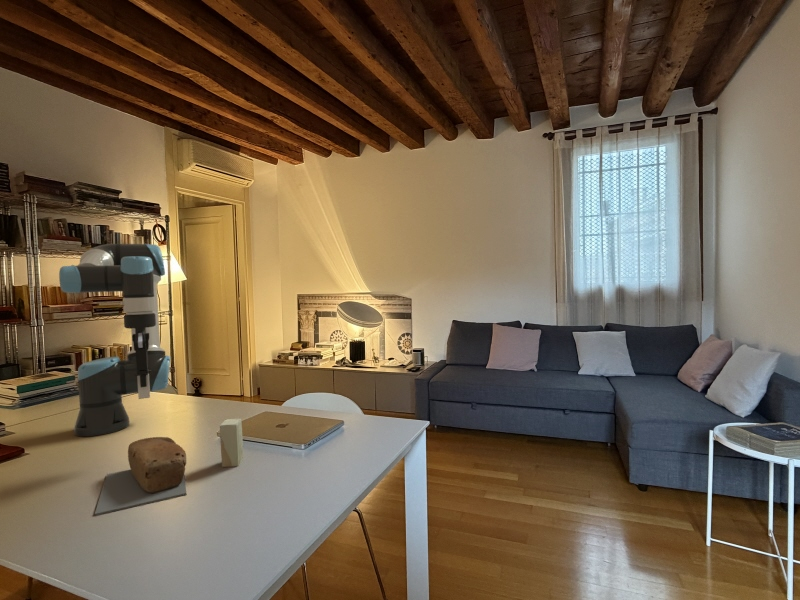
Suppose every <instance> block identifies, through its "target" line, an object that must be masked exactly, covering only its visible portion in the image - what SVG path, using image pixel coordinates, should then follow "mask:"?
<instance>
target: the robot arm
mask: <svg viewBox="0 0 800 600" xmlns="http://www.w3.org/2000/svg"><path fill="white" fill-rule="evenodd" d="M165 269H166V268H165V266H164V259H163V254H162V250H161V248H160V247H159V245H156V244H148V243H107V244H101V245H98V246H95V247H92V248H91V247H90V249H88V250H86V251H85V252H83V254H82V255H81V256H80V259H79V263H78V264H77V265H74V264H72V265H64V266H63V265H62V266H61V267H60V269H59V273H58V278H59V286H60V290H61V291H62V292H63V293H66V294H67V293H68V294H69V293H70V294H72V293H74V294H80V293H81V294H83V293H101V292H103V293H105V292H106V293H108V292H109V293H110V292H111V293H112V292H116V293H117V292H122V300H123V301H120V305H121V306H123V307H122V309H123V312H124V315H123V327H124V328H125V329H130V330H131V331H130V332H131V349H130V350H131V351H129V353H127V355H126V356H127V359H123V360H122V359H121V358H120V357H119V356H118V355H117V356H108V357H103V358H97V359H94V360H90V361H87V362H84V363H82V364H80V365H79V366H78V368H77V379H76V380H77V382H78V383H77V385H78V396H79V397H78V398H79V400H78V401H79V411H78V415H77V418H76V421H75V423H74V435H75V436H79V437H94V436H102V435H106V434H110V433H114V432H118V431H121V430H124V429H125V428H127V427H128V426H129V425H130V418H129V415H128V413H127V410H126V408H125V406H124V405H123V398H122V396H124V395H125V396H126V395H132V394H138V400H142V399H150V398H151V392H155V391H161V390H164V389H166V388H167V387H168V385H169V384H168V383H169V374H170V364H171V363H170V362H171V356H170V355H166V351H165V349H163V348H162V347H161V341H160V340H161V339H160V338H161V336H160V324H159V323H160V321H159V304H158V303H159V302H158V288H157V287H158V286H157V285H158V283H159V282H160V281H161V280H162V277H163V276H165V274H166V270H165Z"/></svg>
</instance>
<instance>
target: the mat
mask: <svg viewBox="0 0 800 600" xmlns="http://www.w3.org/2000/svg"><path fill="white" fill-rule="evenodd" d="M187 494H188V493H187V486H186V477H185V474H184V476H183V480H182V482H181V483H180V484H179V485H177V486H175V487H172V488H169V489H165V490H162V491H159V492H154V493H150V492H147V491H145V490H144V489H143V488H142V487H141V486H140V485H139V483H138V482H137V480H136V479H135V477H134V476H133V474H132V471H131V468H130V469H125V470H121V471H115V472H112V473H107V474H106V475H105V479H104V482H103V486H102V489H101V492H100V495H99V499H98V502H97V506H96V509H95V511H94V517H96V516H99V515H104V514H105V515H106V514H109V513H112V512H117V511H122V510H126V509H131V508H134V507H138V506H144V505H148V504H152V503H157V502H160V501H165V500H166V501H167V500H171V499H173V498H178V497H183V496H187Z"/></svg>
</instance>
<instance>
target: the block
mask: <svg viewBox="0 0 800 600" xmlns="http://www.w3.org/2000/svg"><path fill="white" fill-rule="evenodd" d="M127 449H128V450H127V457H128V458H127V460H128V465H129V468H130V469H131V471H132V474H133V476H134V477H135V479H136V480H137V482H138V483H139V485H140V486H141V487H142V488H143V489H144V490H145V491H147V492H150V493H154V492H159V491H162V490H165V489H169V488H172V487H175V486H177V485H179V484H180V483H181V482H182V480H183V476H184V475H185V474H186V473H185V472H186V466H187V453H186V451H185V449H183V447H182V446H180V445H179V444H177V443H176V441H175V440H173V439H172V438H171V437H169V436H154V437H146V438H140V439H138V440H134V441H132V442H131V443H129V444H128V447H127Z"/></svg>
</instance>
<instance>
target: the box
mask: <svg viewBox="0 0 800 600" xmlns="http://www.w3.org/2000/svg"><path fill="white" fill-rule="evenodd" d="M242 425H243V424H242V418H230V419H229V418H228V419H225V420H223V422H221V423H220V425H219V433H220V434H219V435H220V438H219V439H220V453H221V455H220V456H221V468H226V467H227V468H231V467H239V466H240V465H241V463H242V461H243V460H244V445H243V426H242Z"/></svg>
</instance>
